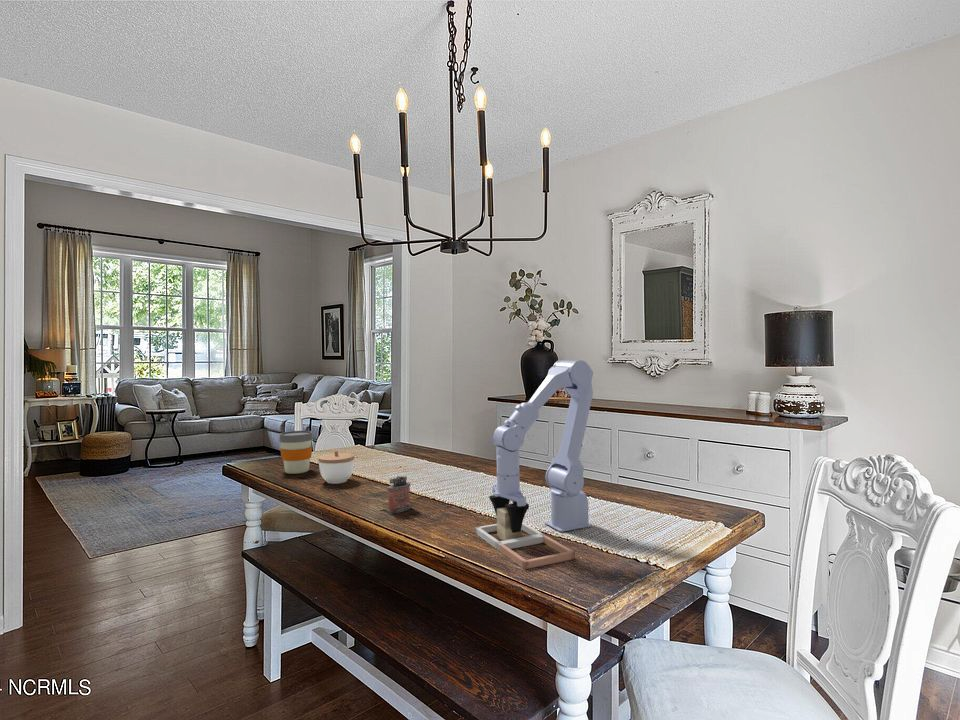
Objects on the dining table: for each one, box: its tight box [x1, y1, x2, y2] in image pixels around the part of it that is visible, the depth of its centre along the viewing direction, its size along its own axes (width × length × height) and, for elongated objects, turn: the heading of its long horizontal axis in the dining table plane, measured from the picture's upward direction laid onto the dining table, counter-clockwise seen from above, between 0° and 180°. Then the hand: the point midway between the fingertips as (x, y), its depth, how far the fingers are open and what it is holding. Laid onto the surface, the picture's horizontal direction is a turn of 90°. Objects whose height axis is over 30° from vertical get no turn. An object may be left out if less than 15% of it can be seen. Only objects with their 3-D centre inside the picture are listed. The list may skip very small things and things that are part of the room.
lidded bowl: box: [317, 450, 355, 485], centre depth 202 cm, size 13×13×11 cm
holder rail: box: [474, 521, 576, 570], centre depth 135 cm, size 13×26×2 cm, turn 25°
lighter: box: [386, 475, 412, 515], centre depth 166 cm, size 8×3×10 cm, turn 141°
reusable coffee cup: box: [278, 430, 313, 475], centre depth 220 cm, size 13×13×15 cm
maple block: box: [496, 507, 522, 541], centre depth 141 cm, size 4×4×7 cm
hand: (509, 527), depth 141 cm, fingers open, 7 cm apart
